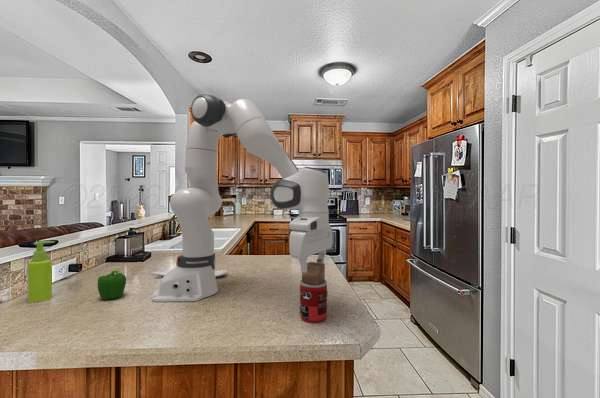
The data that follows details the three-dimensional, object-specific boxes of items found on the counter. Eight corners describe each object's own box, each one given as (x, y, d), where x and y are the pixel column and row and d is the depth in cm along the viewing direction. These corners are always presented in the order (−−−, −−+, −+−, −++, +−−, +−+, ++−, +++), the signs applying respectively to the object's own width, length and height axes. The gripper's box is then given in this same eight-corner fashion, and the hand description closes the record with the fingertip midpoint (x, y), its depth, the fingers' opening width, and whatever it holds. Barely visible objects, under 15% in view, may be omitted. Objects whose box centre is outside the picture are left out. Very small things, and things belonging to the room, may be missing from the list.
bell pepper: (95, 297, 97) (94, 269, 97) (122, 291, 103) (121, 265, 103) (100, 304, 91) (100, 274, 91) (128, 297, 97) (128, 269, 97)
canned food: (298, 312, 85) (299, 277, 85) (324, 312, 86) (324, 277, 86) (301, 324, 78) (301, 285, 78) (328, 323, 78) (329, 285, 78)
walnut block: (316, 285, 78) (316, 267, 78) (301, 282, 81) (301, 265, 81) (324, 280, 82) (324, 263, 82) (310, 277, 85) (310, 261, 85)
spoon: (161, 273, 128) (161, 266, 128) (229, 274, 128) (229, 266, 127) (150, 279, 119) (150, 271, 119) (224, 280, 119) (224, 272, 118)
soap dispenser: (58, 296, 97) (58, 240, 97) (33, 303, 91) (33, 243, 91) (50, 294, 100) (49, 239, 100) (24, 300, 94) (24, 242, 93)
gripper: (320, 218, 92) (319, 259, 92) (285, 223, 75) (284, 274, 75) (337, 219, 89) (336, 262, 89) (305, 225, 71) (304, 278, 71)
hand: (312, 268), depth 82 cm, fingers open, 8 cm apart
